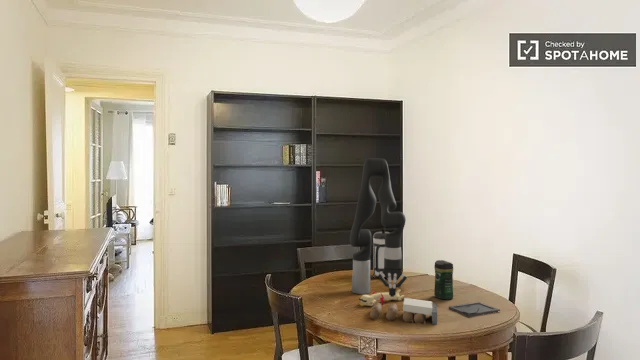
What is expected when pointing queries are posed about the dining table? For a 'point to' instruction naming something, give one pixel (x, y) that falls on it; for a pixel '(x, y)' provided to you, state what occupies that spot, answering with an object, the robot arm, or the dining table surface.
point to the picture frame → (473, 309)
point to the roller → (418, 317)
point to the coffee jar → (443, 279)
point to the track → (391, 313)
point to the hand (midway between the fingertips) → (392, 296)
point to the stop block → (434, 313)
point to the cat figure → (379, 297)
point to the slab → (417, 306)
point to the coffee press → (378, 252)
